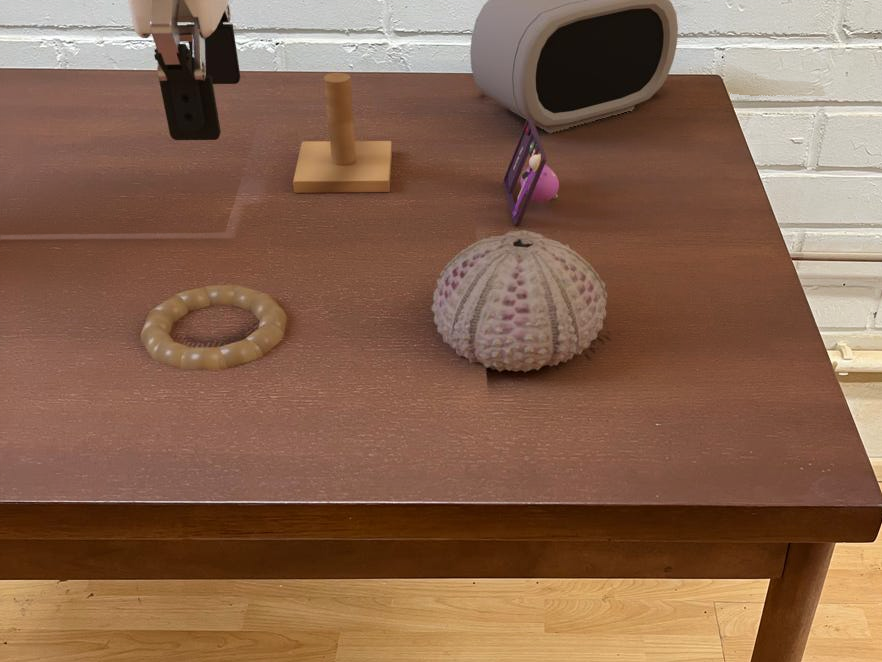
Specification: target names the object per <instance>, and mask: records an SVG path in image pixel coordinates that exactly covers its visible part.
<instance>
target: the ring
mask: <svg viewBox="0 0 882 662" xmlns="http://www.w3.org/2000/svg"><path fill="white" fill-rule="evenodd" d="M211 306H212V307H213V306H214V307H215V306H216V307H217V306H233V307H237V308H240V309H243V310H246V311H250V312H251V313H252V314H253V316H255V317H256V318H257V320H258V321H259V323H258V327H257V328H256V329H255V330H254V331H253V332H252V333H250V334H249V335H248V336H247V337H245V338H243V339H241V340H237V341H235V342H231V343H227V344H225V345H221V346H211V347H208V346H206V347H192V346H188V345H185V344H182V343H180V342H176V341H174V339H173V338H172V337H171V332H172V329H173V326H174V323H176V322H177V321H178V320H181V318H182V317H184V316H186V315H187V314H188V313H190V312H193V311H197V310H200V309H204V308H207V307H211ZM287 322H288V316H287V313H286V312H285V310H284V309H283V308H282V307H281V306H280V305H279V304H278V302H277V301H276V300H275V299H274V298H273V297H272V296H271V295H270V294H268V293H266V292H264V291H260V290H257V289H254V288H251V287H247V286H244V285H241V284H220V285H218V284H215V285H214V284H212V285H210V284H209V285H203V286H200V287H196V288H192V289H189V290H185V291H182V292H178V293H175V294H173V295H171V296H169V298H167V299H166V300H165V301H163V302H162V303H160V304H159V305H157V306H155V307H154V308H153V309H152V310H150V311H149V312H148V314H147V317H146V319H145V322H144V325H143V327H142V330H141V333H140V341H141V344H142V345H143V347H144V348H145V349H146V351H147V353H148V354H149V355H150V357H151V358H152V359H153V360H154V361H157V362H159V363H163V364H165V365H168V366H171V367H173V368H177V369H179V370H182V371H219V370H220V371H223V370H227V369H230V368H233V367H236V366H240V365H242V364H245V363H248V362H251V361H255V360H257V359H260V358H262V357H263V356H264V355H266V354H267V353H268V352H269V351H270V350H271V349H273V348H274V347H276V345H278V344H279V343H280V342H281V341H282V340H283V339H284V337H285V334H286V333H285V332H286V327H287Z"/></svg>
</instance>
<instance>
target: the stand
mask: <svg viewBox="0 0 882 662" xmlns="http://www.w3.org/2000/svg"><path fill="white" fill-rule="evenodd" d="M323 82H324V84H323V85H324V92H325V94H324V95H325V105H326V115H327V126H328V136H329V141H327V140H324V141H323V140H322V141H321V140H320V141H318V140H317V141H311V140H309V141H301V143H300V144H301V145H300V148H299V153H298V158H297V162H296V167H295V170H294V171H295V172H294V176H293V181H292V183H293V191H294V193H295V194H315V193H316V194H318V193H319V194H321V193H323V194H324V193H327V194H328V193H329V194H331V193H332V194H333V193H334V194H335V193H390V192H391V176H392V159H393V158H392V157H393V144H392V143H393V142H392V140H359V141H358V140H356V138H355V137H356V135H355V122H354V110H353V109H354V108H353V97H352V96H353V95H352V84H351V83H352V82H351V76H350V75H349V74H348V73H345V72H330V73H328V74H326V75H325V76H324V77H323Z"/></svg>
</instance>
